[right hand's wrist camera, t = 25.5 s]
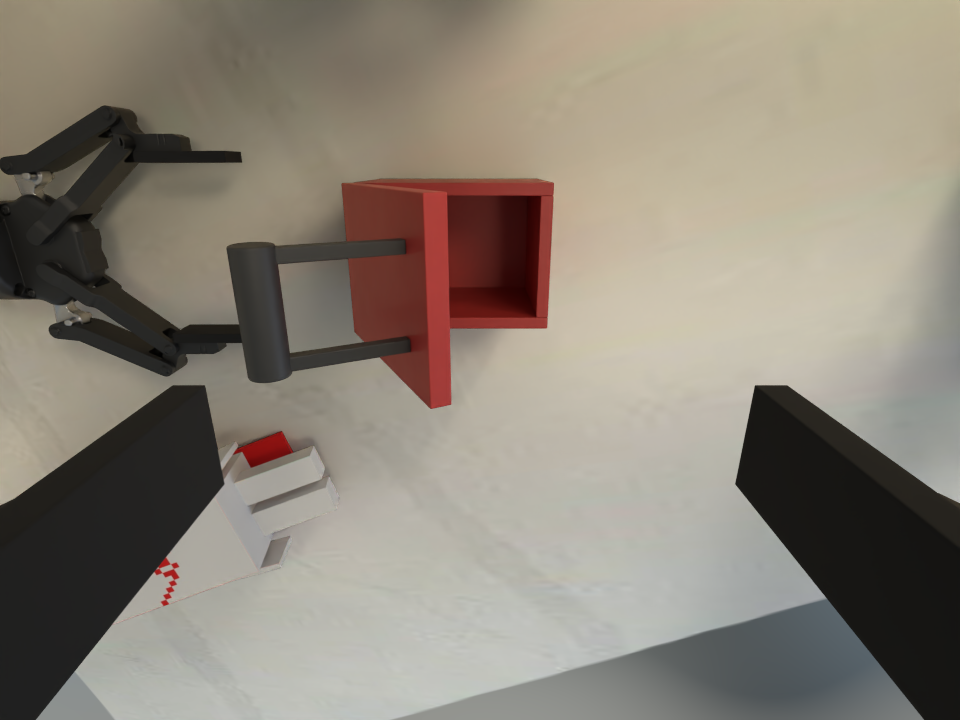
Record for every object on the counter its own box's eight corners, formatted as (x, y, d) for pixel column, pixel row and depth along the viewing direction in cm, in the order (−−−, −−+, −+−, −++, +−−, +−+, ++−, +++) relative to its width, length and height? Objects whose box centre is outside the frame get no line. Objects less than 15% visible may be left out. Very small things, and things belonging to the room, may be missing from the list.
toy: (342, 562, 48) (26, 678, 47) (356, 484, 60) (107, 575, 60) (284, 451, 44) (-62, 575, 43) (312, 393, 56) (45, 489, 56)
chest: (537, 178, 45) (554, 182, 35) (532, 294, 49) (547, 328, 38) (381, 178, 45) (352, 182, 35) (388, 294, 49) (363, 328, 38)
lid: (447, 191, 23) (220, 197, 19) (451, 404, 26) (261, 446, 22) (358, 182, 34) (208, 184, 31) (370, 330, 38) (236, 348, 34)
